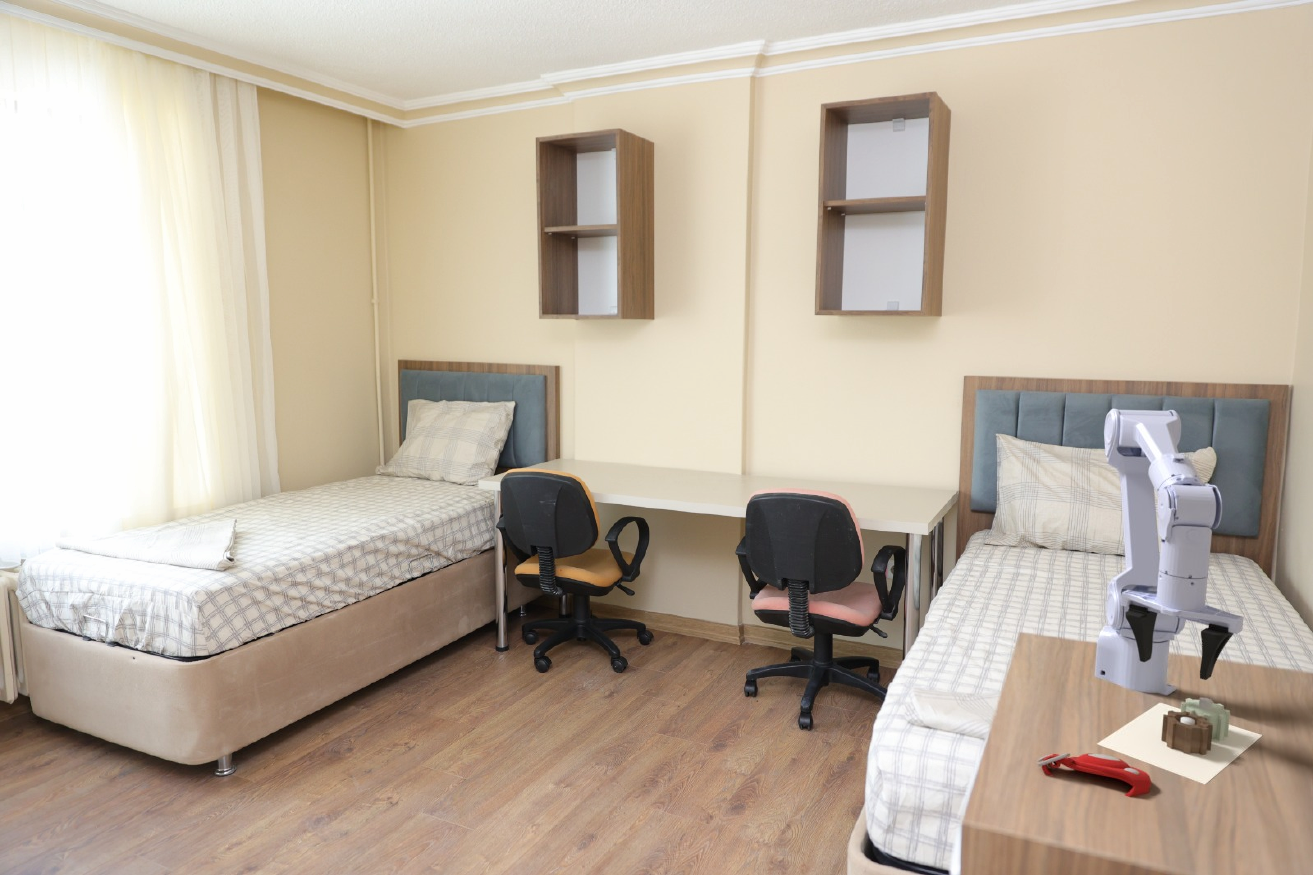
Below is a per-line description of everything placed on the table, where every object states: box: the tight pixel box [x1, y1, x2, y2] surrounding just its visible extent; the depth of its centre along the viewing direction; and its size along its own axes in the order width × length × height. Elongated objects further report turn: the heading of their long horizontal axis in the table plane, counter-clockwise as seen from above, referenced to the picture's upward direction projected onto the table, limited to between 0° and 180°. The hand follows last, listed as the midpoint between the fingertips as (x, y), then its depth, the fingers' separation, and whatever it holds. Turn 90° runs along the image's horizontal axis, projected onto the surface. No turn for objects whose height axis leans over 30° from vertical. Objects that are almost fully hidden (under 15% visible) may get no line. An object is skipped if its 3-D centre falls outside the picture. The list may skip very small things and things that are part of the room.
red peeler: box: [1037, 752, 1152, 798], centre depth 108 cm, size 12×4×10 cm
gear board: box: [1096, 697, 1263, 785], centre depth 118 cm, size 13×20×6 cm, turn 129°
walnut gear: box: [1161, 710, 1213, 755], centre depth 116 cm, size 5×5×4 cm
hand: (1174, 668), depth 121 cm, fingers open, 7 cm apart
